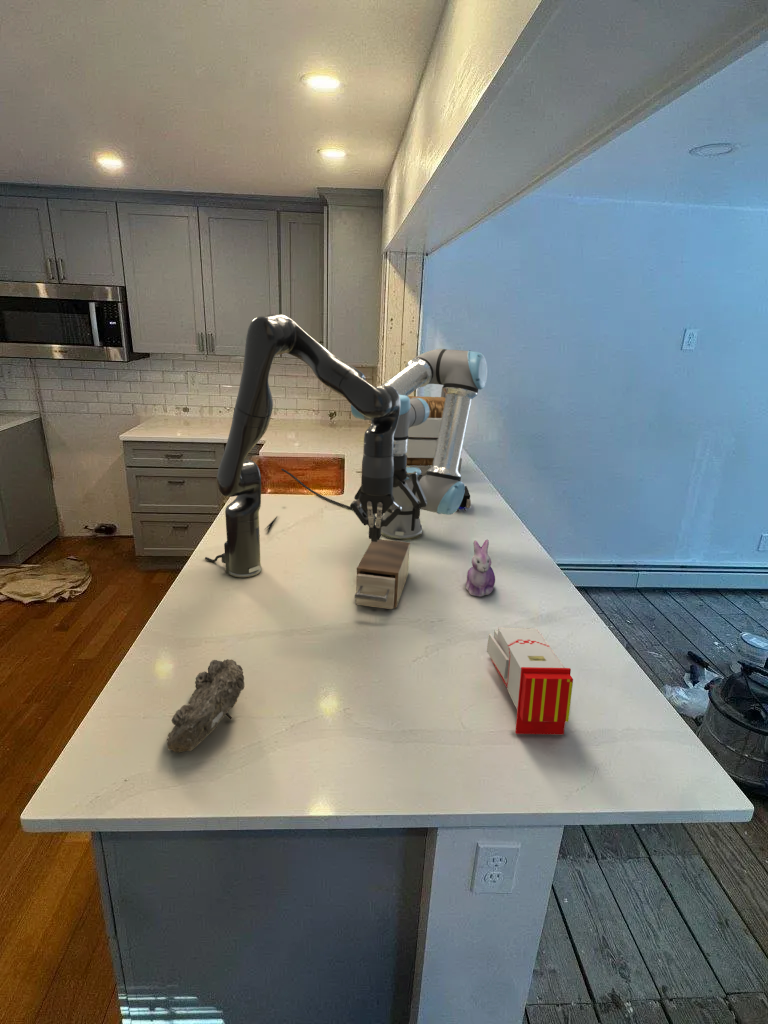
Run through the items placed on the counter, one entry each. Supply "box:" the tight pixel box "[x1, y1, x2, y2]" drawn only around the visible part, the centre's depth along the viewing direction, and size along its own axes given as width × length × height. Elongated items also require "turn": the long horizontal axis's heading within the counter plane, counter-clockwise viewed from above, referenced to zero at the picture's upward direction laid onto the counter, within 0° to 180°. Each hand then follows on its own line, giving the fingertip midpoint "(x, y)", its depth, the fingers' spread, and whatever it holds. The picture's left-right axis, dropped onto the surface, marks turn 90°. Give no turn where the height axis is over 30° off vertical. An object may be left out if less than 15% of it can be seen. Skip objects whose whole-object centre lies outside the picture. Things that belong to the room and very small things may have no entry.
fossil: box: [166, 658, 245, 754], centre depth 106 cm, size 22×10×15 cm
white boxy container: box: [406, 386, 463, 475], centre depth 268 cm, size 34×33×41 cm
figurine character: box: [456, 485, 472, 513], centre depth 228 cm, size 7×8×15 cm
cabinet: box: [355, 538, 411, 609], centre depth 159 cm, size 21×11×10 cm, turn 169°
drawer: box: [354, 571, 395, 610], centre depth 154 cm, size 25×10×8 cm, turn 169°
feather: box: [264, 516, 278, 533], centre depth 207 cm, size 2×28×2 cm
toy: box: [486, 627, 574, 736], centre depth 118 cm, size 12×13×30 cm
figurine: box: [465, 539, 496, 597], centre depth 159 cm, size 9×10×15 cm
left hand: (374, 540), depth 139 cm, fingers closed
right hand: (389, 526), depth 160 cm, fingers open, 13 cm apart
